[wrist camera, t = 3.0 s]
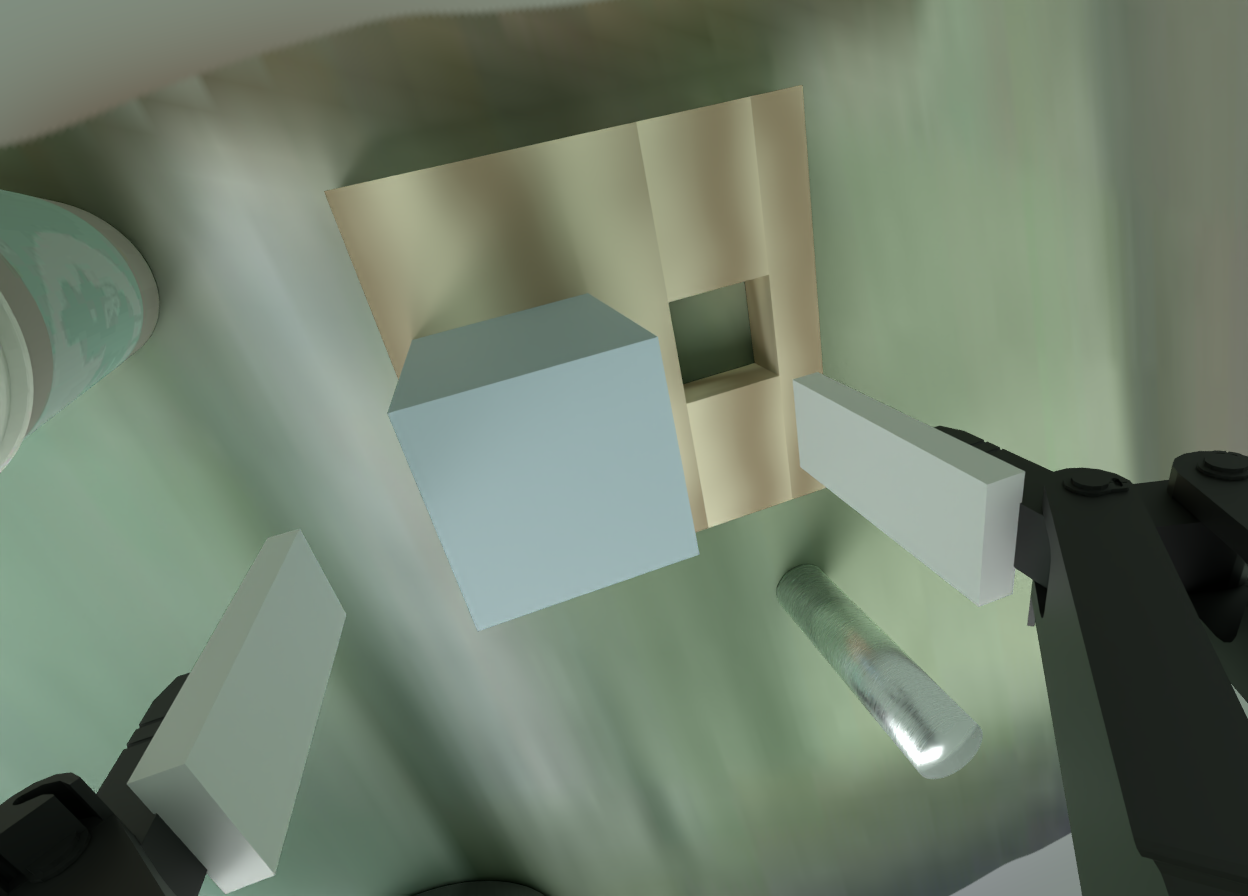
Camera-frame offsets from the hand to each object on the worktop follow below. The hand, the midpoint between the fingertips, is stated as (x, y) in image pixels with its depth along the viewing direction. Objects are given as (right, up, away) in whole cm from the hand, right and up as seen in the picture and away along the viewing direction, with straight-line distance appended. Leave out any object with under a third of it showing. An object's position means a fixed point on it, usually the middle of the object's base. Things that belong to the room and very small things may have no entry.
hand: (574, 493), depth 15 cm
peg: (+12, -7, +20) cm, 24 cm away
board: (+1, +5, +12) cm, 13 cm away
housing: (-3, +3, +9) cm, 10 cm away
